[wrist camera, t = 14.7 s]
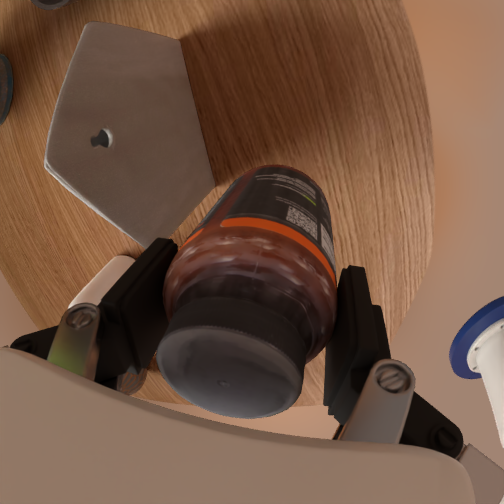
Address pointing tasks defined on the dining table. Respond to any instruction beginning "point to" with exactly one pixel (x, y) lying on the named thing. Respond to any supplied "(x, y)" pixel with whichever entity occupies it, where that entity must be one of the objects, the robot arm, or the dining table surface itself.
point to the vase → (133, 382)
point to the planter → (129, 132)
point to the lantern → (5, 86)
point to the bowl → (52, 3)
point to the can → (103, 281)
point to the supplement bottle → (251, 296)
